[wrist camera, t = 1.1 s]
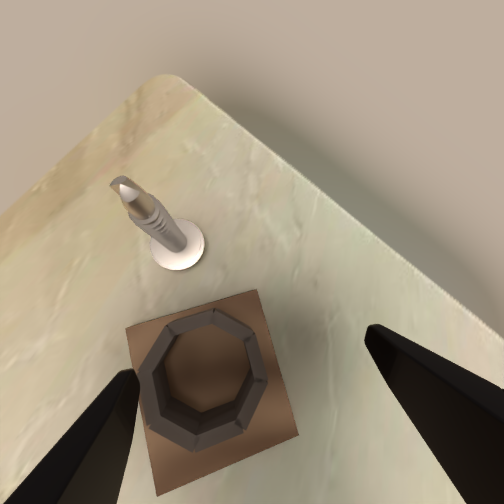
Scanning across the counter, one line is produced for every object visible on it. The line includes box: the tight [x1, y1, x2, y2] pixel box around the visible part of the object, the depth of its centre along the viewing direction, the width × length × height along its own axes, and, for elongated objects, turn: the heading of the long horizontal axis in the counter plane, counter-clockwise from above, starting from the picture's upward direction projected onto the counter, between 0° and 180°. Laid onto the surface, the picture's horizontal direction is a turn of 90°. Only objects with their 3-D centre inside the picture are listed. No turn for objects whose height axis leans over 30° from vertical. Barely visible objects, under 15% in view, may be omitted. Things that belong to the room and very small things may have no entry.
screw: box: [110, 176, 205, 270], centre depth 15 cm, size 13×5×5 cm
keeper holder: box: [125, 289, 299, 497], centre depth 18 cm, size 13×12×4 cm
